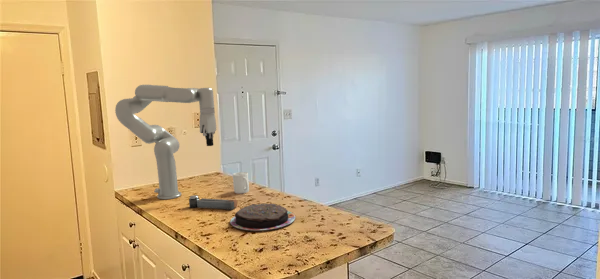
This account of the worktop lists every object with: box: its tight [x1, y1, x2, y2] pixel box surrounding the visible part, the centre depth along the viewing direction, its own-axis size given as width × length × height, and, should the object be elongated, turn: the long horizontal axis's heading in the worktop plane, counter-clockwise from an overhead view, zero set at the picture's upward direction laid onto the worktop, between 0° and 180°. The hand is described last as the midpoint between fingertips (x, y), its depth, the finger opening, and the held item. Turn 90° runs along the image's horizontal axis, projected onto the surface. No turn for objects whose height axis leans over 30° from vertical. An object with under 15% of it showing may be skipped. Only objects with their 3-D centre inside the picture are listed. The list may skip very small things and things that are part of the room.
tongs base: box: [188, 197, 235, 211], centre depth 197 cm, size 24×6×4 cm, turn 73°
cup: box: [232, 171, 250, 194], centre depth 222 cm, size 8×12×10 cm
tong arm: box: [189, 194, 238, 209], centre depth 197 cm, size 24×5×5 cm, turn 71°
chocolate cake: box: [229, 202, 296, 233], centre depth 174 cm, size 28×28×7 cm
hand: (210, 145), depth 216 cm, fingers closed
